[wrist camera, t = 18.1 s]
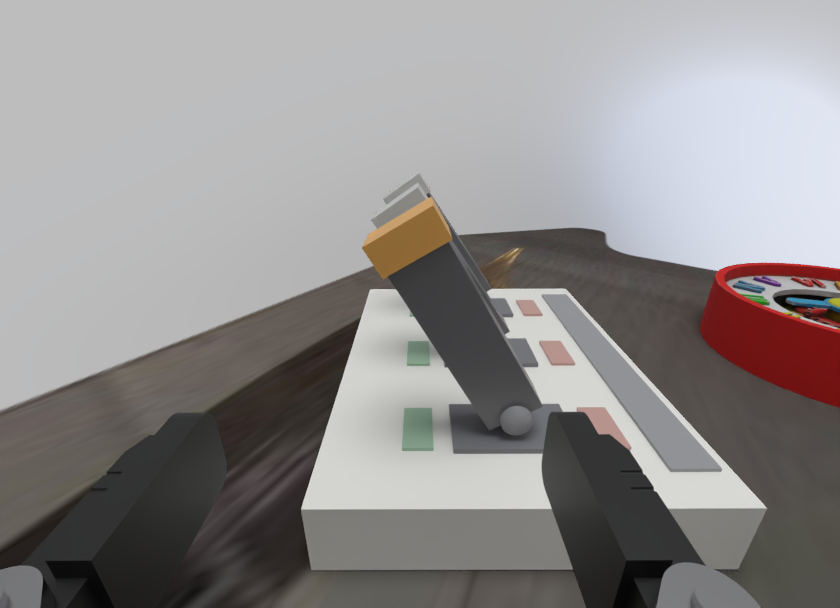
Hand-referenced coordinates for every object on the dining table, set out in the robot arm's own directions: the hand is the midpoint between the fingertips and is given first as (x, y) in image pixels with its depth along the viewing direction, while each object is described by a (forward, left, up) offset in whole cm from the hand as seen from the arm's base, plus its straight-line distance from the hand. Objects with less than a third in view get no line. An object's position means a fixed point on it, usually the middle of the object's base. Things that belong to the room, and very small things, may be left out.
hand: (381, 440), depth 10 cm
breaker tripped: (+2, +11, -6) cm, 13 cm away
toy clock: (+28, +36, -12) cm, 47 cm away
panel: (-1, +19, -12) cm, 22 cm away
